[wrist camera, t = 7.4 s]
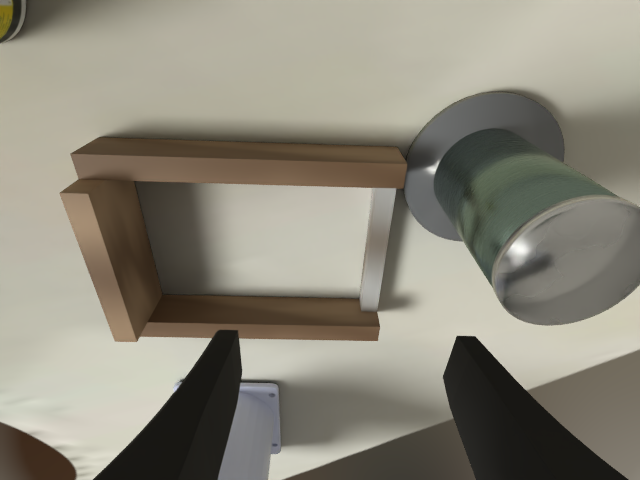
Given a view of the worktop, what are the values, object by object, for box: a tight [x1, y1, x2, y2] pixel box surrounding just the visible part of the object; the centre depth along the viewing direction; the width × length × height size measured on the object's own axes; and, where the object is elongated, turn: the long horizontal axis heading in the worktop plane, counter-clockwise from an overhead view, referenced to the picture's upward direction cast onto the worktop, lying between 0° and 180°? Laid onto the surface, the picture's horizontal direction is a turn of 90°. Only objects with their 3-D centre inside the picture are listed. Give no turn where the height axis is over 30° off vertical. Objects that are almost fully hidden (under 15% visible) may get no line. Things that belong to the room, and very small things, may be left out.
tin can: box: [434, 128, 640, 325], centre depth 16 cm, size 5×5×8 cm
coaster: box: [403, 92, 564, 241], centre depth 19 cm, size 8×8×1 cm
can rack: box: [60, 137, 407, 342], centre depth 20 cm, size 11×15×4 cm
